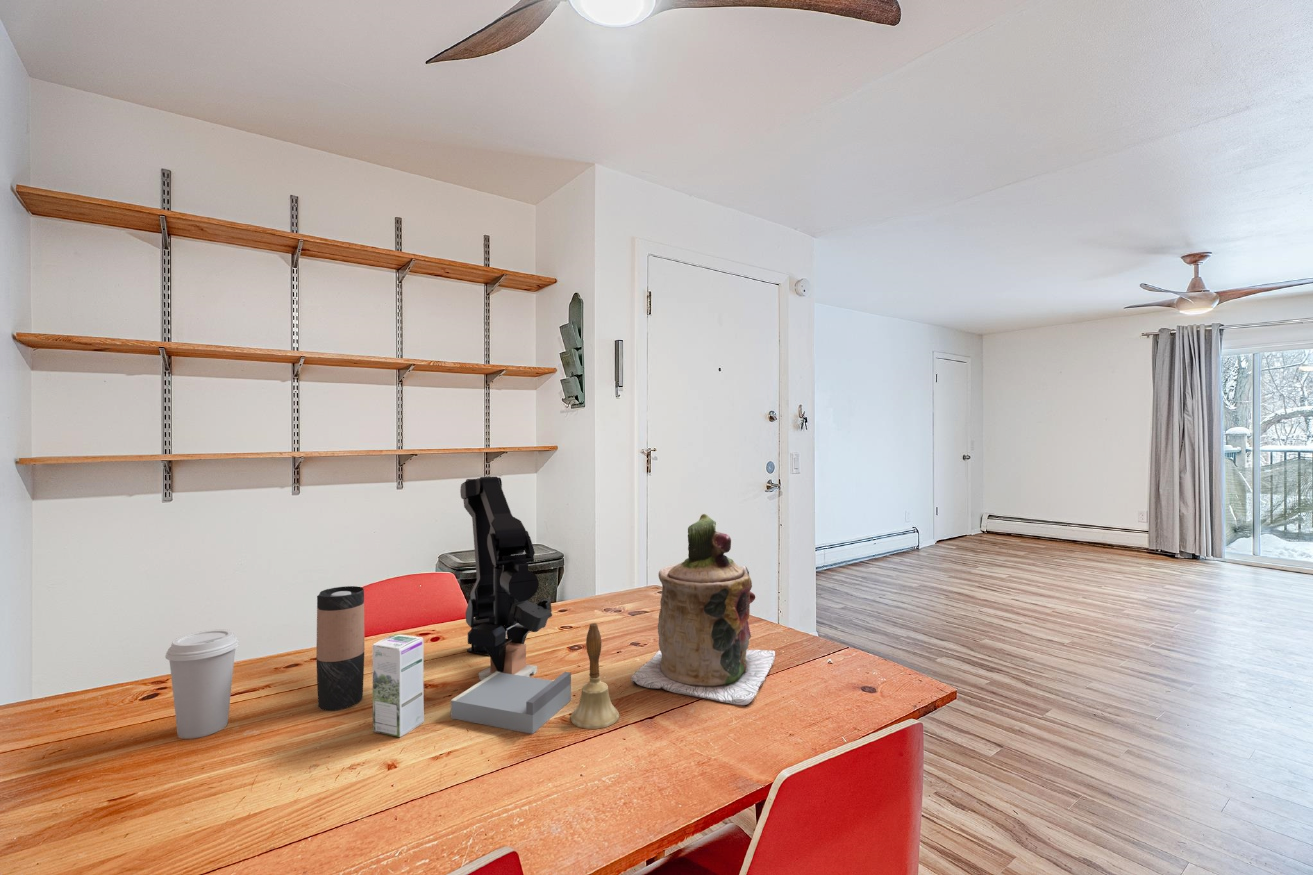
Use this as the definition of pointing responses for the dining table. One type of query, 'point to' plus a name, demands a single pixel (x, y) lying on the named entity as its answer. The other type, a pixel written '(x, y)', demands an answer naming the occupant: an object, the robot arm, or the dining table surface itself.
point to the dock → (512, 701)
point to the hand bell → (594, 691)
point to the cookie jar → (706, 625)
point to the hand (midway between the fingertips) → (508, 666)
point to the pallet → (512, 662)
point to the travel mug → (340, 647)
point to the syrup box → (398, 684)
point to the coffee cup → (202, 681)
